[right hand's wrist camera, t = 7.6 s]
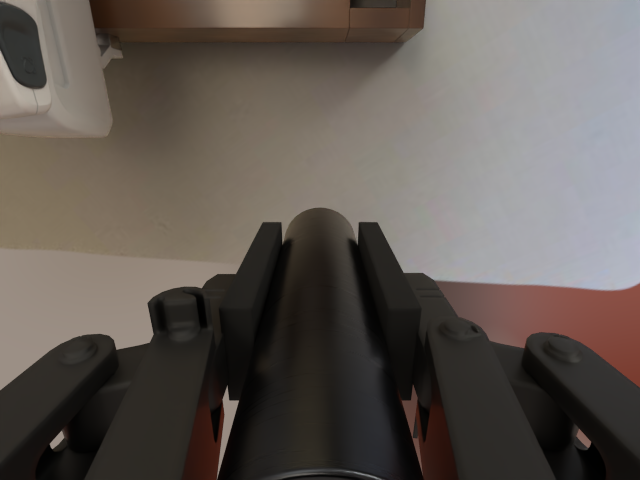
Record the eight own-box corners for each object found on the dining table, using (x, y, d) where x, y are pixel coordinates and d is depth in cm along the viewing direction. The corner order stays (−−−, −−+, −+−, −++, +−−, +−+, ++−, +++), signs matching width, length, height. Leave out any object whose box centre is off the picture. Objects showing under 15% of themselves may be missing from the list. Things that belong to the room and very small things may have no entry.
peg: (283, 207, 15) (184, 472, 4) (356, 207, 15) (457, 473, 4) (286, 272, 16) (213, 623, 5) (353, 272, 16) (426, 623, 5)
